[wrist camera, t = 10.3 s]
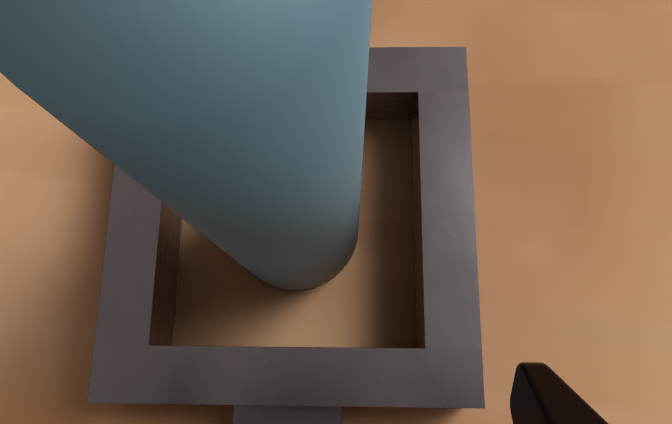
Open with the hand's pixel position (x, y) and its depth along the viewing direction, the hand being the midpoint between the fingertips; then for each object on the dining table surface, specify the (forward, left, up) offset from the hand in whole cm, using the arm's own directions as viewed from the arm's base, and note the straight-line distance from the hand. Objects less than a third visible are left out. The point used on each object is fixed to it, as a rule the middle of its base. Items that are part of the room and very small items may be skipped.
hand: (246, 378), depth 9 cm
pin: (+4, +1, -8) cm, 9 cm away
